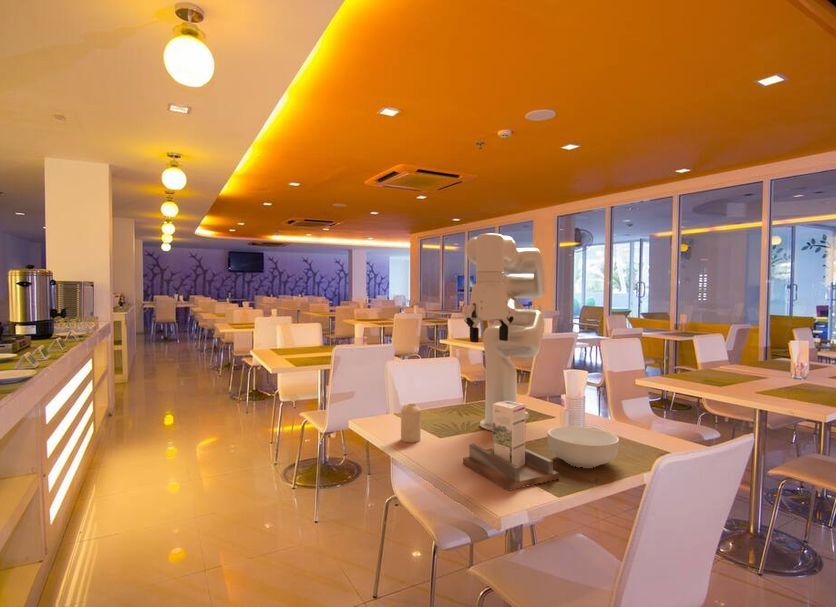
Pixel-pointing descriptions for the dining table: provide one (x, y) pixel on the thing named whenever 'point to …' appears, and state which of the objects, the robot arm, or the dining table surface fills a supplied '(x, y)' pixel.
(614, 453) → the cereal bowl
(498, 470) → the track board
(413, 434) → the candle
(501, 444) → the syrup box
